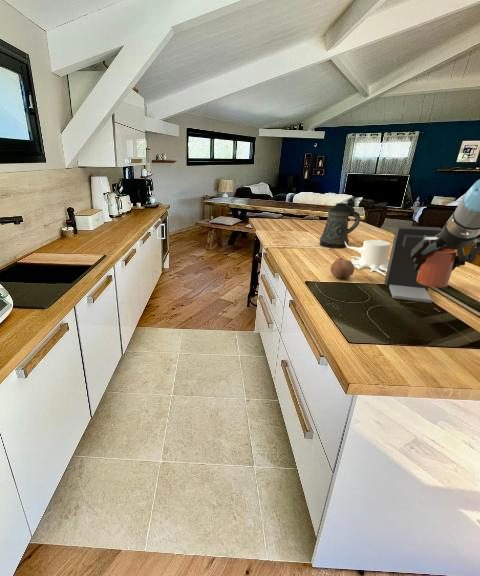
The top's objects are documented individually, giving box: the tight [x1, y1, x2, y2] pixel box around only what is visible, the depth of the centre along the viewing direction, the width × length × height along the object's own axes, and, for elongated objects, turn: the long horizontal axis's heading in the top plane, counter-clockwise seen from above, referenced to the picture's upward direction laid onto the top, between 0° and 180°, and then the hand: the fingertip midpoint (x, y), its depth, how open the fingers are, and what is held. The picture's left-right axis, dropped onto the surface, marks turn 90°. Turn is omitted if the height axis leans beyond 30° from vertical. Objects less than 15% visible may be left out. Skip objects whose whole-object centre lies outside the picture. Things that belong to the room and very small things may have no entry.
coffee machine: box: [384, 225, 443, 304], centre depth 118 cm, size 14×18×24 cm
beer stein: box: [319, 202, 361, 249], centre depth 187 cm, size 16×19×25 cm
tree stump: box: [345, 239, 392, 277], centre depth 153 cm, size 28×28×11 cm
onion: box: [329, 257, 355, 281], centre depth 137 cm, size 10×9×10 cm
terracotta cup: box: [416, 249, 458, 288], centre depth 97 cm, size 8×8×11 cm
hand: (431, 268), depth 100 cm, fingers closed on terracotta cup, 8 cm apart
